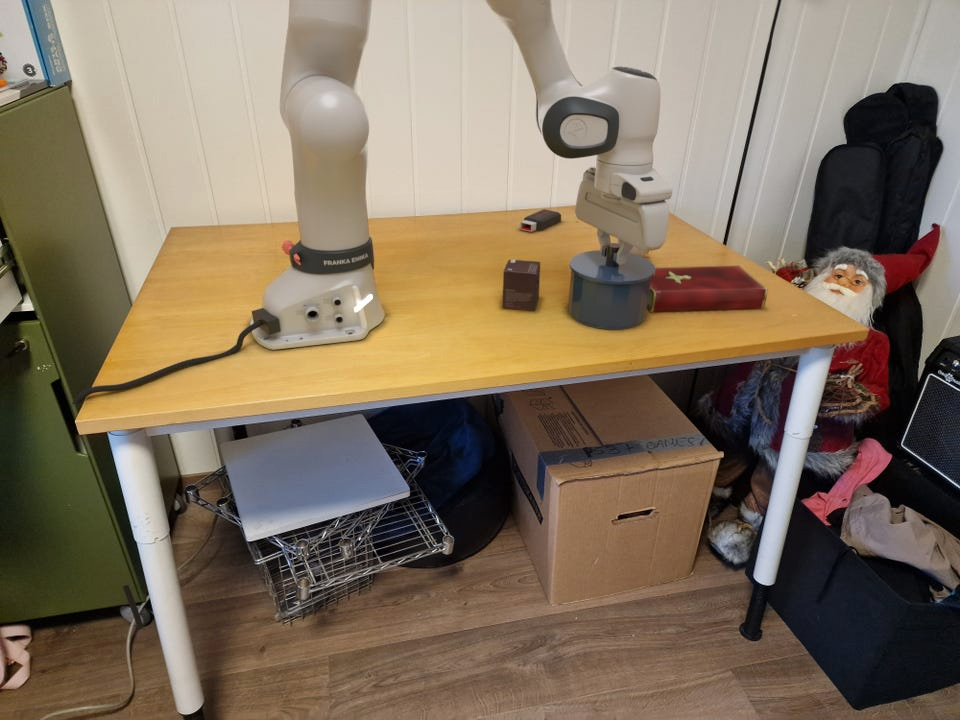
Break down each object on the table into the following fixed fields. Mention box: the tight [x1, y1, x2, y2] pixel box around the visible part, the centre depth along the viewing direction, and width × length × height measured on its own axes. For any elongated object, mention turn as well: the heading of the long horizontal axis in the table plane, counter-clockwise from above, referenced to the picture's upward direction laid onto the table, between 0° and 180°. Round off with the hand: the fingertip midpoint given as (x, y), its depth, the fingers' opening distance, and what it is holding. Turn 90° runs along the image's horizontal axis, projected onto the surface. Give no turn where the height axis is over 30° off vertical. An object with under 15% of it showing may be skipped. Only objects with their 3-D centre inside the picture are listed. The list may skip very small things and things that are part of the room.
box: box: [502, 259, 541, 312], centre depth 117 cm, size 6×6×7 cm
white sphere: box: [616, 238, 650, 257], centre depth 139 cm, size 10×7×7 cm
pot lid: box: [568, 242, 656, 284], centre depth 111 cm, size 15×15×5 cm
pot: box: [567, 270, 652, 331], centre depth 114 cm, size 14×14×8 cm
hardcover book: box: [647, 265, 769, 313], centre depth 121 cm, size 12×21×4 cm, turn 95°
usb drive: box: [519, 209, 562, 233], centre depth 158 cm, size 5×12×3 cm, turn 143°
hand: (612, 259), depth 111 cm, fingers closed on pot lid, 2 cm apart
